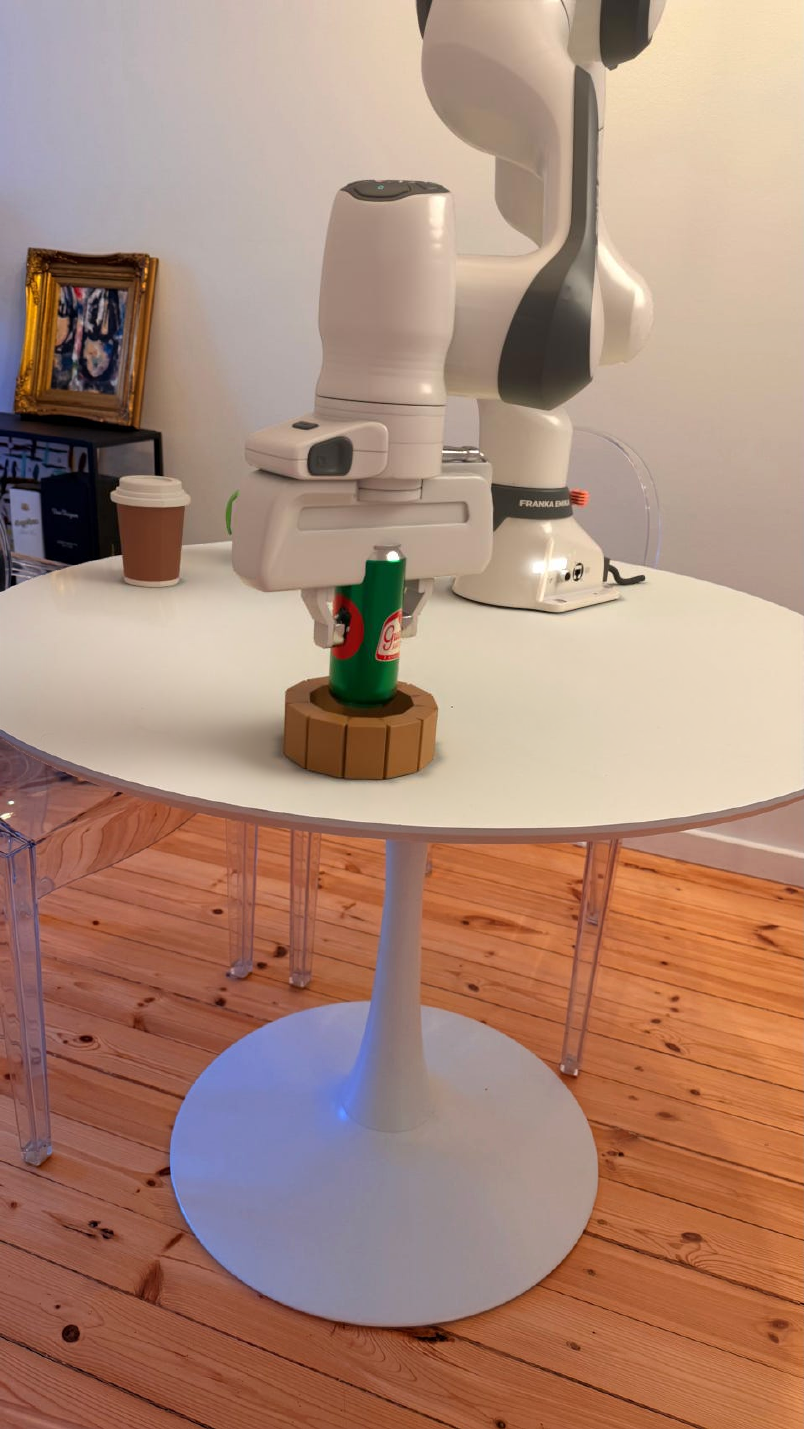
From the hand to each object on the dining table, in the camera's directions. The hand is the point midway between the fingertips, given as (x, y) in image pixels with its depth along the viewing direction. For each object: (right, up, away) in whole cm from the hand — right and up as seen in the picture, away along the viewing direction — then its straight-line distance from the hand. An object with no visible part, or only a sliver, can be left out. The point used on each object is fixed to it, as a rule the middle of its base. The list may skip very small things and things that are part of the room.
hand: (365, 641), depth 72 cm
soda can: (0, -4, +2) cm, 5 cm away
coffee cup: (-28, +11, +48) cm, 56 cm away
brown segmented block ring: (-1, -8, +3) cm, 8 cm away
